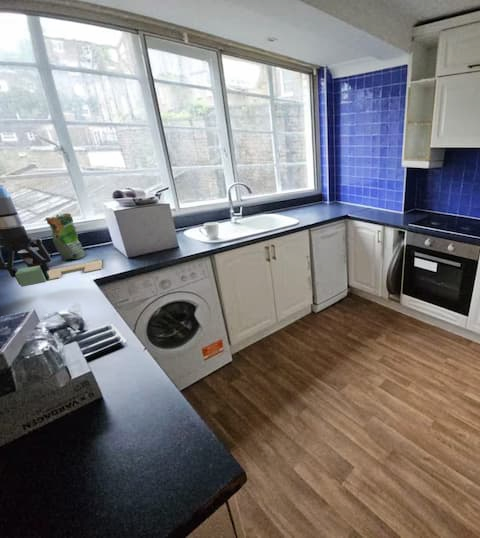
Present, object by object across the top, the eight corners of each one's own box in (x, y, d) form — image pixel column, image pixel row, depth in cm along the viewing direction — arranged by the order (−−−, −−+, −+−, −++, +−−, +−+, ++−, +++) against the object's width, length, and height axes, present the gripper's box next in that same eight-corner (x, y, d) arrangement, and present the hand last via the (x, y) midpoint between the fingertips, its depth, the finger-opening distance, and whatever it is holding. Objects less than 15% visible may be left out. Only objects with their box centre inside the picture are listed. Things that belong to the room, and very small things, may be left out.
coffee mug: (22, 270, 150) (12, 252, 146) (41, 264, 158) (33, 247, 154) (40, 272, 148) (31, 253, 144) (59, 265, 156) (51, 247, 152)
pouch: (87, 253, 174) (69, 211, 164) (89, 257, 166) (71, 214, 156) (61, 258, 166) (41, 214, 157) (62, 263, 159) (41, 218, 149)
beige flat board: (40, 283, 135) (39, 281, 135) (45, 273, 147) (44, 270, 146) (101, 270, 148) (100, 268, 147) (102, 262, 159) (101, 260, 159)
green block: (21, 286, 117) (14, 274, 114) (24, 281, 122) (18, 269, 120) (45, 282, 121) (40, 269, 118) (48, 276, 126) (42, 264, 124)
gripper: (46, 221, 121) (68, 272, 129) (-28, 229, 109) (1, 284, 118) (43, 224, 115) (66, 277, 124) (-35, 233, 104) (-4, 291, 113)
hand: (35, 281), depth 121 cm, fingers closed on green block, 7 cm apart
